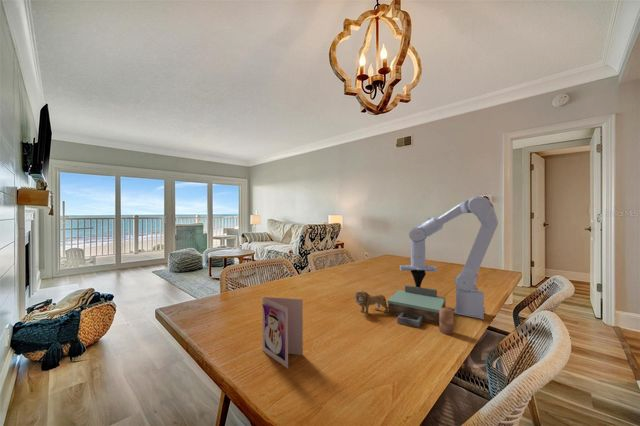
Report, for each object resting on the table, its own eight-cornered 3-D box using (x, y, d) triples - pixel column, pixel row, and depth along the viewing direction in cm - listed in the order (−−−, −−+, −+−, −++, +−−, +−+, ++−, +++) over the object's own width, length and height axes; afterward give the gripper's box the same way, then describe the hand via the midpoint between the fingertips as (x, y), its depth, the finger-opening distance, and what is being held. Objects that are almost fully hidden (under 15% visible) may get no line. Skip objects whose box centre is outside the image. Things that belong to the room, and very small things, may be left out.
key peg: (453, 330, 83) (454, 309, 83) (452, 336, 80) (452, 313, 80) (440, 327, 86) (440, 306, 85) (438, 332, 82) (438, 310, 82)
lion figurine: (359, 317, 94) (359, 293, 94) (351, 312, 99) (351, 289, 98) (392, 311, 99) (392, 288, 99) (383, 307, 104) (383, 284, 104)
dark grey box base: (445, 310, 100) (445, 300, 100) (437, 332, 83) (437, 319, 82) (398, 301, 110) (398, 292, 110) (382, 319, 92) (382, 308, 92)
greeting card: (260, 351, 71) (259, 297, 71) (282, 342, 76) (281, 291, 76) (285, 370, 63) (284, 308, 63) (307, 357, 68) (307, 301, 68)
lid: (445, 300, 100) (445, 291, 100) (439, 313, 87) (439, 302, 87) (398, 292, 110) (398, 283, 110) (387, 302, 97) (387, 293, 97)
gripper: (401, 257, 106) (401, 290, 106) (439, 258, 104) (438, 291, 104) (399, 254, 113) (399, 285, 113) (434, 255, 111) (433, 286, 111)
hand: (417, 288), depth 109 cm, fingers closed
